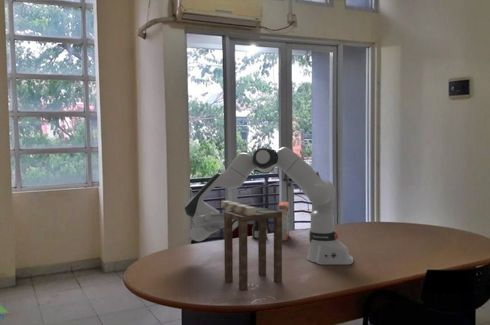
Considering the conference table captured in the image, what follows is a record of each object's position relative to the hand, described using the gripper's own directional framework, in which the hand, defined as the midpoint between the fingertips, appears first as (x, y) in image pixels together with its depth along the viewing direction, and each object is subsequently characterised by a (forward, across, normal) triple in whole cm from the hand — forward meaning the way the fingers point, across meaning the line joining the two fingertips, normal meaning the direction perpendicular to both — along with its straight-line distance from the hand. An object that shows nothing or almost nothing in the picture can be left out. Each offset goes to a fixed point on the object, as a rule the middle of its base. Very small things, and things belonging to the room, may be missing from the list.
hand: (221, 213), depth 207 cm
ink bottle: (-51, +51, +2) cm, 72 cm away
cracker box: (-44, +62, +6) cm, 76 cm away
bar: (+14, 0, +4) cm, 15 cm away
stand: (+3, +4, +33) cm, 33 cm away
